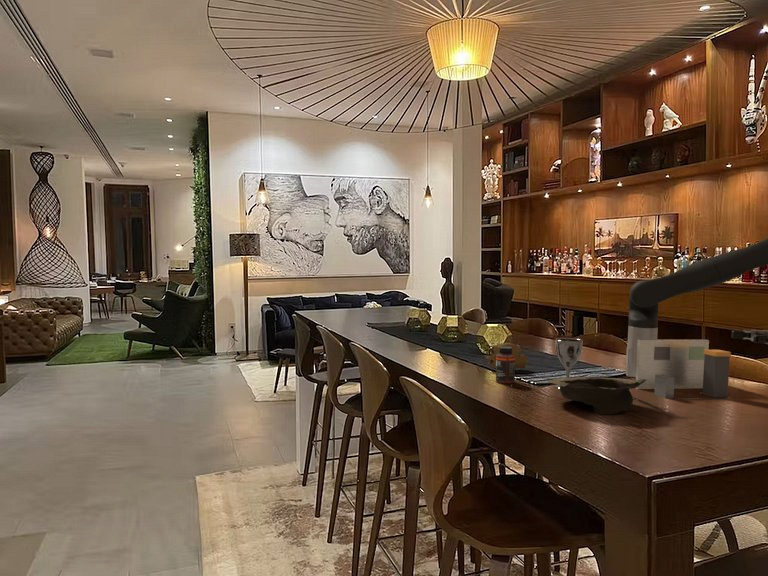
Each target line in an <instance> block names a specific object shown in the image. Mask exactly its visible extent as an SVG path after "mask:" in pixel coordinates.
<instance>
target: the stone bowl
mask: <svg viewBox="0 0 768 576" xmlns="http://www.w3.org/2000/svg"><path fill="white" fill-rule="evenodd" d="M645 381H646V379H642V380H637V381H636V380H633V379H624V378H618V377H617V378H616V377H603V376H602V377H599V376H593V377H592V376H580V377H577V376H575V377H569V378H566V377H560V378H554V379H548V380H547V382H548V383H551V384H553V385H556V386H557V385H560V389H559V392H560V393H561V396H562V397H563V398H564V399H566V400H570V401H574V402H577V403H584V404H585V405H589V406H592V408H593V412H594V413H595V414H597V415H612V414H619V413H621V412H627V411H629V410H630V409H631V405H632V404H633V402H634V397H633V394H632V392H631V389H636V388H637V387H638V386H639V385H641V384H642V383H644V382H645Z"/></svg>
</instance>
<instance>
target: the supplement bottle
mask: <svg viewBox="0 0 768 576" xmlns="http://www.w3.org/2000/svg"><path fill="white" fill-rule="evenodd" d="M499 351H500V352H499V353H498V354H497V355H496V369H495V382H496V383H498V384H504V385H510V384H514V383H515V379H516V378H515V373H516V368H515V355H514V354H512V347H499Z"/></svg>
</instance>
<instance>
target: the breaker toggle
mask: <svg viewBox="0 0 768 576" xmlns="http://www.w3.org/2000/svg"><path fill="white" fill-rule="evenodd" d="M704 354H705V355H704V374H703V388H702V392H701V394H702V395H704V396H705V395H706V396H709V397H710V398H729V397H728V394H729V392H728V391H729V377H730V376H729V374H730V373H729V372H730V358H731V354H732V352H731V351H728V350H727V351H726V350H721V349H709V350H704Z"/></svg>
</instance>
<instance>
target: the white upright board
mask: <svg viewBox="0 0 768 576" xmlns="http://www.w3.org/2000/svg"><path fill="white" fill-rule="evenodd" d="M709 344H710V340H709V339H657V340H638V342H637V364H636V378H635V381H637V380H642V379H646V381H645V382H644V383H642V384H641V385H639V386H638V387H637V388H635V389H636V390H654V393H653V395H655V396H658V397H661V398H663V399H674V397H675V396H674V395H675V394H682V392H675V389H677V390H678V389H679V390H680V389H683V390H684V389H703V374H704V355H705V354H704V350H710V349H709V346H710V345H709ZM705 399H707V400H709V399H711V400H713V399H714V400H716V399H721V400H723V399H725V397H700V398H699V397H698V398H697V397H696V398H695V397H694V398H692V397H691V398H690V397H689V398H688V397H686V398H682V397H681V398H678V400H705Z"/></svg>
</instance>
